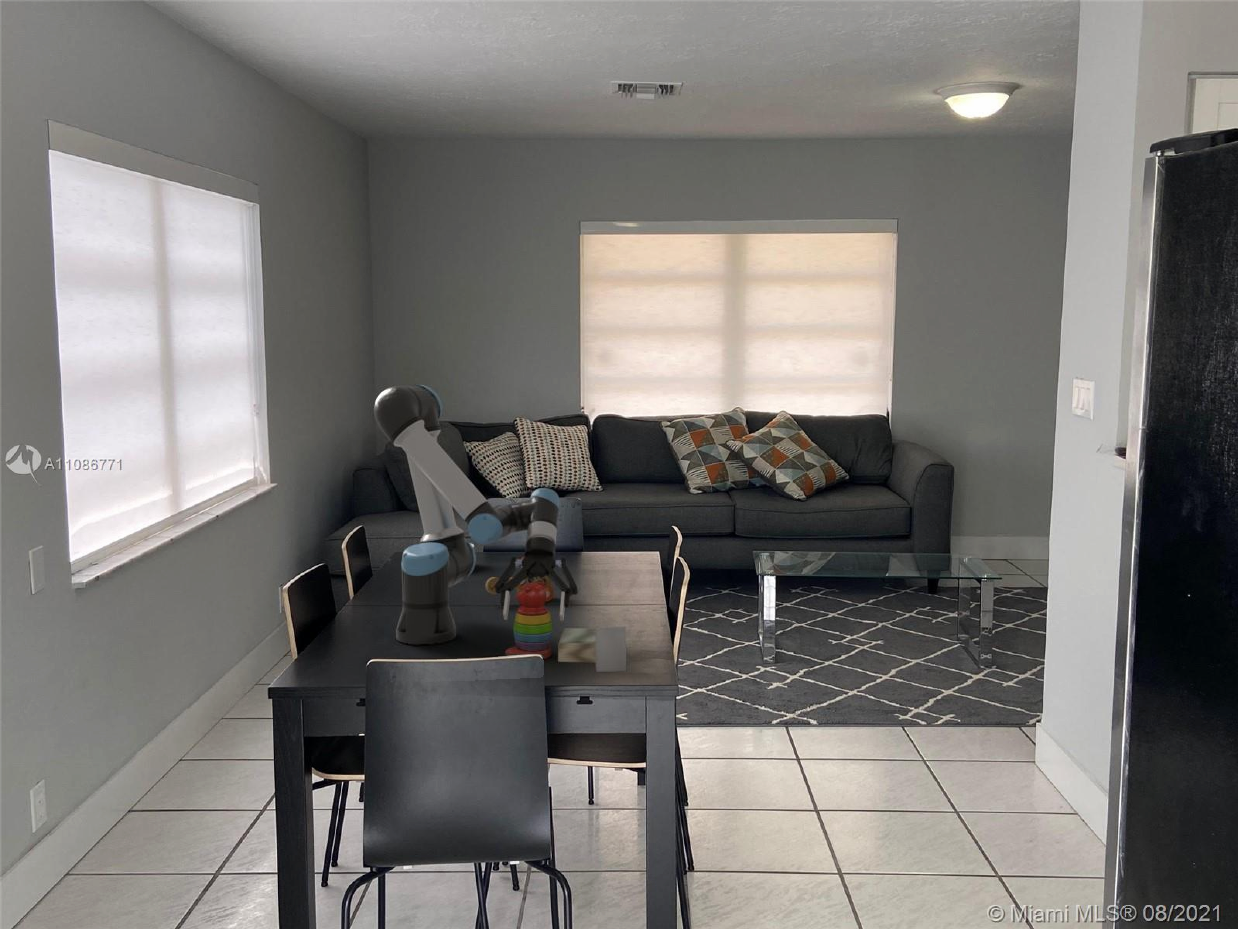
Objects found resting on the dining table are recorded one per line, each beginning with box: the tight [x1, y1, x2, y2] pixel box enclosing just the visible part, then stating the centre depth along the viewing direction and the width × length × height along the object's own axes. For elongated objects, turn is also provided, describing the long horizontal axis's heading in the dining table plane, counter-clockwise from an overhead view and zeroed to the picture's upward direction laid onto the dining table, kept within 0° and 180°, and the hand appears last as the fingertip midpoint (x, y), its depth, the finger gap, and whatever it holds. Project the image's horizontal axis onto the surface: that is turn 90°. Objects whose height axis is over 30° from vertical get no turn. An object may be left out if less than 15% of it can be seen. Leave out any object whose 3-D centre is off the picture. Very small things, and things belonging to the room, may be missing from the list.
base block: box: [557, 627, 596, 664], centre depth 263 cm, size 12×12×5 cm
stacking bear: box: [504, 582, 553, 660], centre depth 262 cm, size 11×10×18 cm
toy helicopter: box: [485, 556, 555, 603], centre depth 314 cm, size 8×21×14 cm, turn 123°
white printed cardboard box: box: [595, 626, 627, 673], centre depth 252 cm, size 4×7×10 cm, turn 95°
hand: (533, 617), depth 261 cm, fingers open, 13 cm apart
